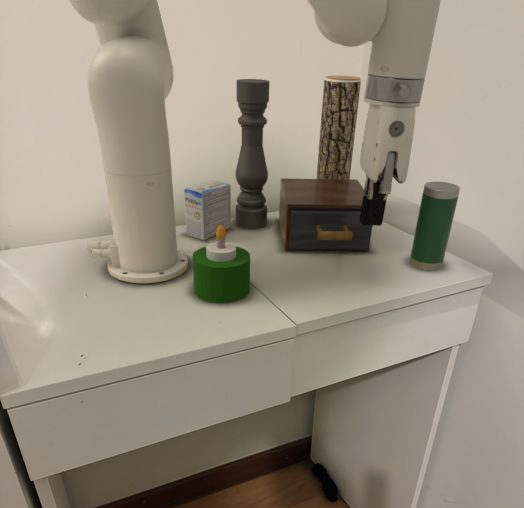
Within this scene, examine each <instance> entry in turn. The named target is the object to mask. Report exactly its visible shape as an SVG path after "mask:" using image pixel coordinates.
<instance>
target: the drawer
mask: <svg viewBox="0 0 524 508" xmlns="http://www.w3.org/2000/svg"><path fill="white" fill-rule="evenodd" d="M360 213H361V210H300V209H292V210H291V216H290V234H289V249H368V243H369V236H370V229H371V225H362V223H361V222H360Z"/></svg>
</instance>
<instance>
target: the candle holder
mask: <svg viewBox="0 0 524 508" xmlns="http://www.w3.org/2000/svg"><path fill="white" fill-rule="evenodd" d="M236 102H237V107H238V109H239V111H240V114H241V115H240V116H239V117H238V118H237V124H239V125H240V128H241V145H240V150H239V154H238V155H239V156H238V159H237V164H236V169H235V180H236V182H237V184H238V185H239V186H240V187H239V190H240V191H241V192H239V194H238V196H237V197H236V202H237V204H236V205H235V225H236V226H237V227H238V228H240V229H241V228H242V229H247V230H257V229H263V228H265V227H266V226H267V225H268V205H266V202H267V197H266V196H265V195H264V193H263V191H264V186H265V185H266V183H267V181H268V179H269V172H268V166H267V162H266V155H265V150H264V128H265V126H266V125H267V124H268V119H267V118H266V117H265V116H264V114H265V113H266V110H267V108H268V103H269V102H270V80H268V79H261V78H260V79H259V78H241V79H240V78H239V79H236Z"/></svg>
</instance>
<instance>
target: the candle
mask: <svg viewBox="0 0 524 508" xmlns="http://www.w3.org/2000/svg"><path fill="white" fill-rule="evenodd" d="M226 236H227V230H225V228H224V227H223V226H222V225H220V226H218V228H217V230H216V235H215V237H216V241H214V242H209V243H208V244H206V246H203V247H200V248H198V249H197V250H195V251H194V252H193V253H192V255H191V257H192V274H193V276H192V277H193V293H194V295H195V296H196V297H197V298H198V299H200V300H202V301H205V302H208V303H211V304H231V303H236V302H239V301H241V300H243V299H246V298H247V297H248V296H249V294H250V292H251V253H250V252H249V250H246V249H245V248H243V247H240V246H237V245H236V244H235V243H233V242H230V241H226Z"/></svg>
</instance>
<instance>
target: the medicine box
mask: <svg viewBox="0 0 524 508" xmlns="http://www.w3.org/2000/svg"><path fill="white" fill-rule="evenodd" d="M231 186H232V185H231V184H230V183H227V182H224V181H221V180H217V179H211V180H207V181H204V182H200V183H198V184H194V185H192V186H188V187H186V188H184V190H183V192H184V210H185V212H184V213H185V226H186V227H185V230H186V235H187V236H189V237H192V238H195V239H198V240H201V241H206V240H207V239H209V238H212V237H214V236H216V230H217V228H218V226H220V225H222V226H223V227H224V228H225V231H227V230H230V229H231V227H232V221H231V220H232V219H231V216H232V215H231V214H232V212H231V211H232V209H231V207H232V206H231V205H232V200H231V199H232V195H231V194H232V192H231V191H232V190H231V189H232V187H231Z"/></svg>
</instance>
